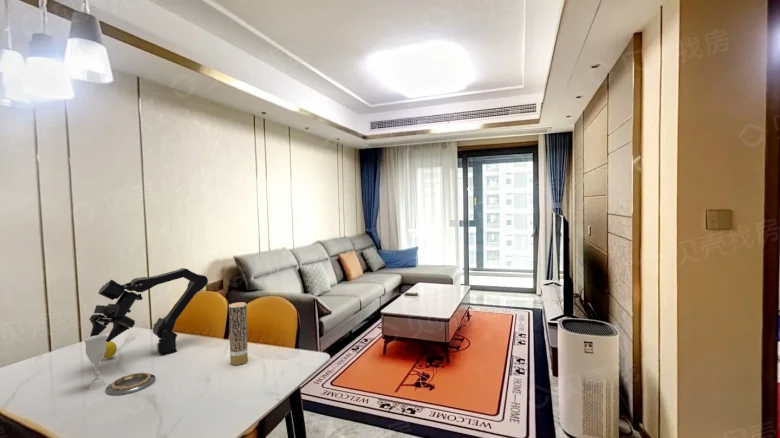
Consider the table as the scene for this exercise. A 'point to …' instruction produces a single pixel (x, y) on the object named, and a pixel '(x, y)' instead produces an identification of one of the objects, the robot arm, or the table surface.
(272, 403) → the table surface
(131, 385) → the collar
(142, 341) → the table surface
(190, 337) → the table surface
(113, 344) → the lemon
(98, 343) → the chalice
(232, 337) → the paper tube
